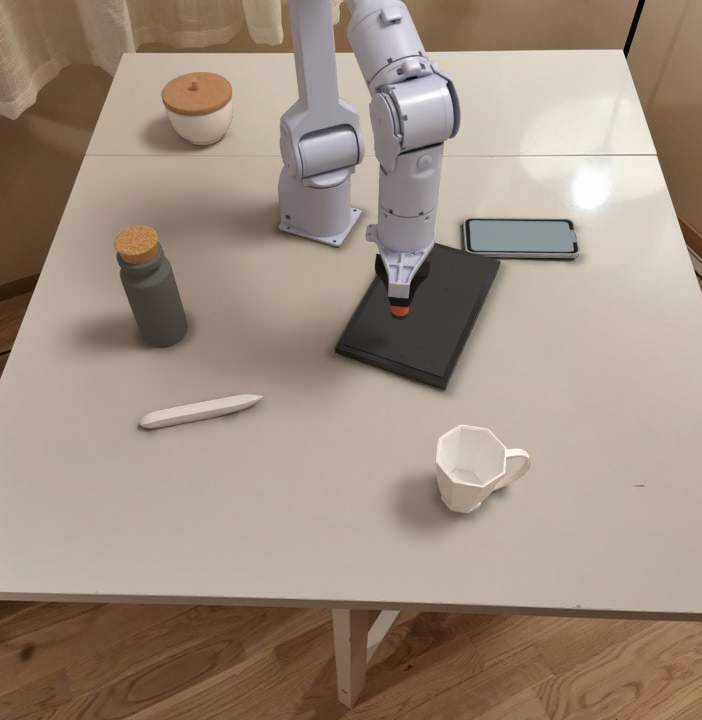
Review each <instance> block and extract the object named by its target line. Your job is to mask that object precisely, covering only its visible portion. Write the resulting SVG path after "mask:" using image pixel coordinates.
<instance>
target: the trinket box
mask: <svg viewBox="0 0 702 720" xmlns="http://www.w3.org/2000/svg"><path fill="white" fill-rule="evenodd" d="M160 96H161V101H162V104H163V105H164V110H165V113H166V116H167V118H168V121H169V123H170V125H171V126H172V128H173V130H174V131H175V132H176V133H177V134H178V135H179V136H180V137H181V138H183V139H185V140H186V141H187V142H189V143H190V144H192V145H195V146H210V145H212V144H213V145H214V144H216V143H218V142H219V141H221V139H222V138H223V137H224V135H225V134H226V133H227V131H228V130H229V128H230V127H231V123H232V120H233V117H234V101H233V87H232V84H231V82H230V81H229V80H228V79H227V78H226V77H224V76H222V75H220V74H218V73H214V72H209V71H195V72H189V73H184V74H182V75H178V76H177V77H174V78H172V79H171V80H170V81H168V82H167V83H166V84H165V85H164V86H163V88H162V90H161V95H160Z"/></svg>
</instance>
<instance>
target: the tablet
mask: <svg viewBox="0 0 702 720" xmlns="http://www.w3.org/2000/svg"><path fill="white" fill-rule="evenodd" d="M424 261H425V262H430V272H429V275H428V277H427V279H426V280H424V281H423V282H422V283H421V284H420V285H419V286H418V288H417V290H416V292H415V294H414V297H413V300H412V302H411V304H410V306H409V312H408V316H407V317H406V318H405V319H402V320H398V319H395V318H393V317H392V315H391V305H390V302H389V299H388V295H387V291H386V288H385V285H384V283H383V282H382V280H381V279H380V278H379V277H378V276H377V275H375V277H374V279H373V281H372V283H371V284H370V286H369V288H368V290H367V291H366V293H365V295H364V297H363V298H362V299H361V302H360V303H359V304H358V306H357V308H356V310H355V311H354V313H353V314H352V317H351V319H350V320H349V322H348V324H347V326H346V327H345V329H344V331H342V334H341V336H340V338H339V340H338V341H337V342H336V344H335V346H334V354H336V355H339V356H340V357H341V356H342V357H344V358H348V359H350V360H353V361H356V362H358V363H361V364H365V365H368V366H371V367H374V368H377V369H380V370H382V371H385V372H389V373H392V374H394V375H398V376H400V377H404V378H406V379H409V380H412V381H415V382H418V383H421V384H423V385H427V386H430V387H433V388H435V389H439V390H442V391H444V392H445V391H447V388H448V386H449V385H450V381H451V379H452V377H453V375H454V374H455V373H454V372H455V370H456V369H457V366H458V363H459V361H460V358H461V356H462V354H463V352H464V350H465V347H466V345H467V343H468V340H469V339H470V336H471V334H472V331H473V329H474V327H475V325H476V322H477V320H478V318H479V315H480V313H481V311H482V308H483V306H484V304H485V302H486V299H487V297H488V295H489V292H490V290H491V288H492V286H493V284H494V281H495V279H496V277H497V274H498V273H499V270H500V267H501V262H502V261H501V260H498V259H495V258H492V257H484V256H481V255H477V254H474V253H470V252H467V251H465V250H463V249H459V248H455V247H452V246H450V245H449V246H448V245H445V244H441V243H437V242H435V244H434V246H433V248H432V249H431V251H430V252H429V254H428V255H427V257H426V258H425V260H424Z"/></svg>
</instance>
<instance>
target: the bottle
mask: <svg viewBox="0 0 702 720" xmlns="http://www.w3.org/2000/svg"><path fill="white" fill-rule="evenodd" d="M113 248H114V249H115V251H116V255H115V257H116V261H117V264H118V266H119V268H120V269H119V278H120V282H121V284H122V288H123V290H124V293H125V295H126V299H127V301H128V304H129V306H130V309H131V311H132V315H133V317H134V320H135V322H136V323H135V324H136V325H137V328H138V331H139V333H140V335H141V338H142V340H143V342H145V343H146V344H148V345H149V346H150V347H154V348H158V349H159V348H169V347H172V346H174V345H176V344H178V343H180V342H181V341H182V340H183V339H184V338H185V336H186V335H187V333H188V329H189V324H188V319H187V316H186V312H185V308H184V304H183V301H182V299H181V295H180V291H179V288H178V284H177V281H176V277H175V274H174V270H173V265H172V263H171V261H170V259H168V257H166V256H165V250H164V247H163V245H162V243H161V242H160V241H159V237H158V233H157V232H156V231H155V229H153V228H152V227H149V226H146V225H134V226H133V225H132V226H129V227H126V228H125V229H123V230H121V231H120V232H119V233H117V235H116V236H115V238H114V240H113Z"/></svg>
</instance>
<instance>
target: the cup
mask: <svg viewBox="0 0 702 720" xmlns="http://www.w3.org/2000/svg"><path fill="white" fill-rule="evenodd" d="M514 458H522V459H524V462H523V464H522V465H521V466H520V468H518V469H516V470H515V471H513V472H511V473H509V474H508V475H506V476H504V475H505V474H506V467H507V461H508V460H512V459H514ZM434 462H435V470H436V481H437V486H438V489H439V492H440V499H441V501H442V502H443V503H444V504H445V505H446V507H447V508H448V509H449V510H450V511H451V512H455V513H461V514H469V513H471V512H473V511H474V510H476V509H477V508H479V507H480V506H481V504H482V502H483V501H484V500H485V499H486V498H487V497H488V496H490V495H491V494H492V492H495V491H497V490H499V489H502V488H504V487H505V486H508V485H510V484H512V483H514V482H515V481H518V480H519V479H521V478H522V477H524V476H525V475H526V474H527V473H528V472H529V471H530V469H531V458H530V456H529V453H528V452H527V451H526V450H524V449H523V448H509V449H508V448H507V446H505V445H504V444H503V443H502V442H501V441H500V440H499V438H498V437H497V436H495V434H494V433H493V432H492V431H491V430H490V429H489V428H485V427H480V426H473V425H469V424H468V425H466V424H462V423H461V424H459V425H457V426H455V427H453V428H451V429H450V430H448V431H447V432H445V433H444V434H442V435H440V436H439V437H438V439H437V447H436V454H435V461H434Z"/></svg>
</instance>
